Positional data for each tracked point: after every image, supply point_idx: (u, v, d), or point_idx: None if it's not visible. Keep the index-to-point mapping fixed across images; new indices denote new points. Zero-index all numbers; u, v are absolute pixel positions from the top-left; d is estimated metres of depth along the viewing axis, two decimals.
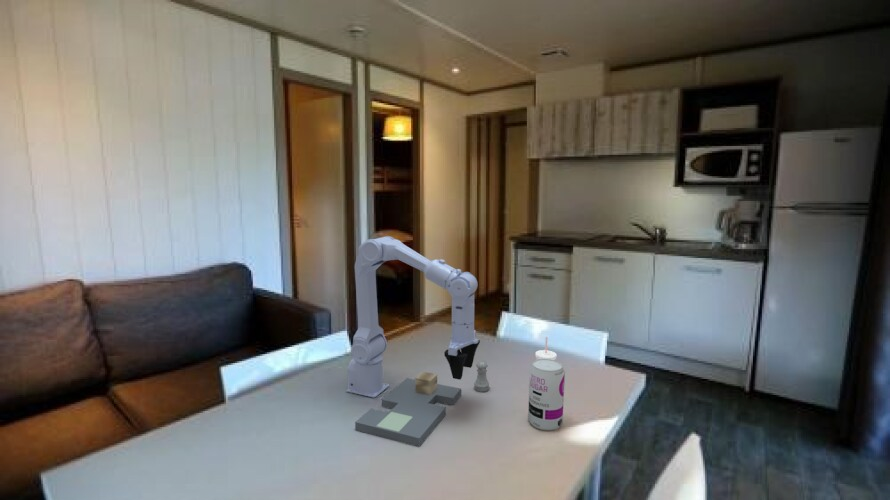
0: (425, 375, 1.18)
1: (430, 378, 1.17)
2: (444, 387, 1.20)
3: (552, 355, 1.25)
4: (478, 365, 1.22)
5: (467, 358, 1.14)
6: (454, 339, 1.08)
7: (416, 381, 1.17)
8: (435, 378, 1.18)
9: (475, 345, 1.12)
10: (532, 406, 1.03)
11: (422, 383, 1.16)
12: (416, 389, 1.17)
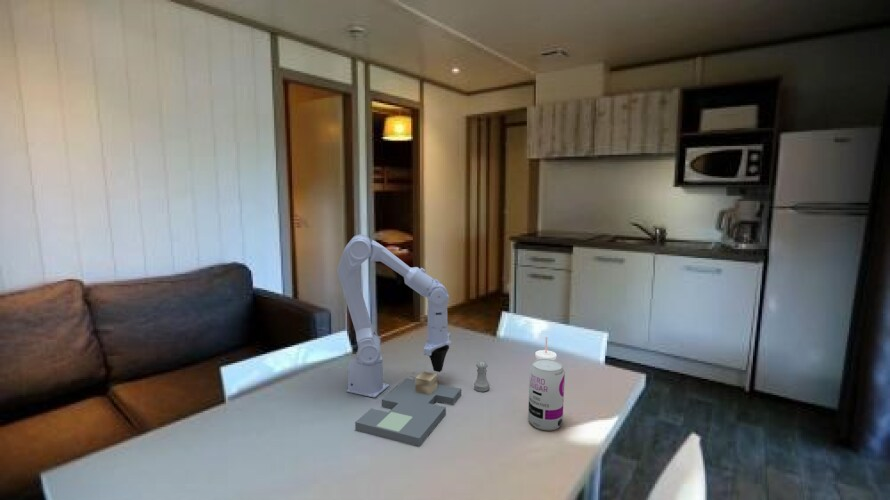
0: (425, 375, 1.18)
1: (430, 378, 1.17)
2: (444, 387, 1.20)
3: (552, 355, 1.25)
4: (478, 365, 1.22)
5: None
6: (429, 341, 1.22)
7: (416, 381, 1.17)
8: (435, 378, 1.18)
9: None
10: (532, 406, 1.03)
11: (422, 383, 1.16)
12: (416, 389, 1.17)
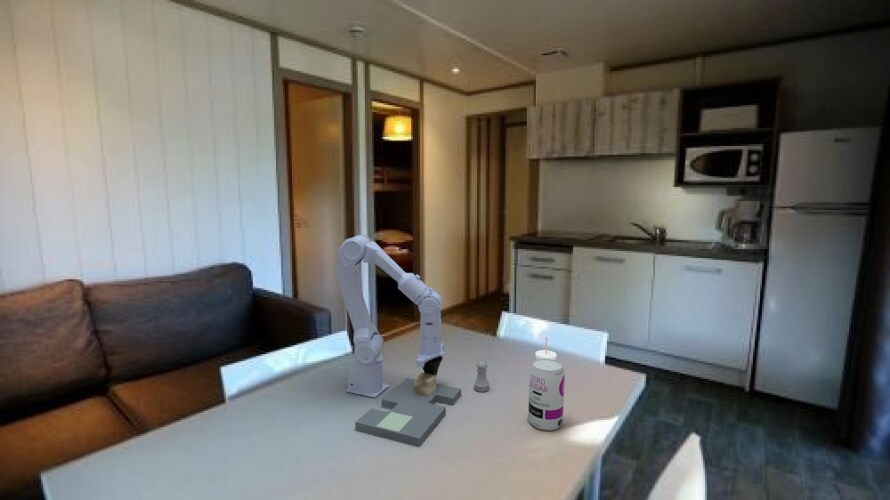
0: (424, 376, 1.18)
1: (429, 379, 1.16)
2: (444, 387, 1.20)
3: (552, 355, 1.25)
4: (478, 365, 1.22)
5: (431, 373, 1.21)
6: (422, 352, 1.18)
7: (415, 382, 1.16)
8: (434, 379, 1.18)
9: None
10: (532, 407, 1.03)
11: (421, 384, 1.15)
12: (415, 390, 1.16)
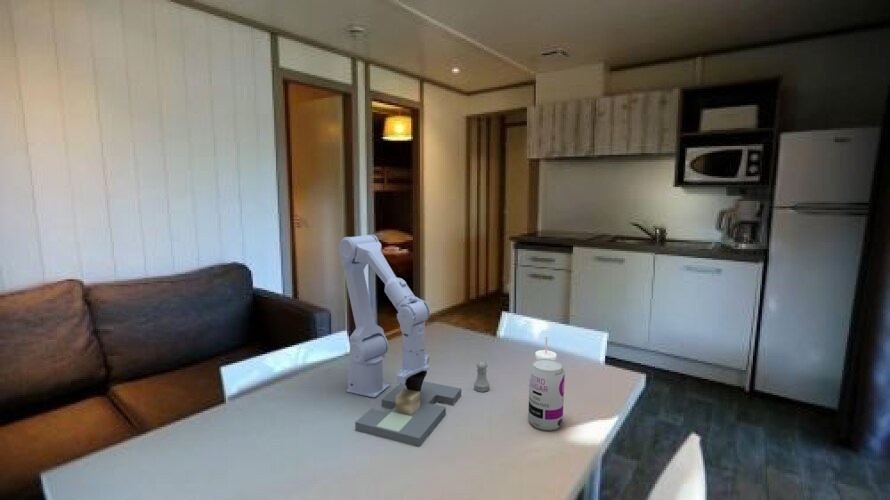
0: (406, 393, 1.08)
1: (412, 396, 1.06)
2: (444, 387, 1.20)
3: (552, 355, 1.25)
4: (478, 365, 1.22)
5: (414, 389, 1.11)
6: (404, 366, 1.08)
7: (396, 400, 1.07)
8: (417, 396, 1.08)
9: None
10: (532, 406, 1.03)
11: (403, 402, 1.06)
12: (397, 408, 1.07)
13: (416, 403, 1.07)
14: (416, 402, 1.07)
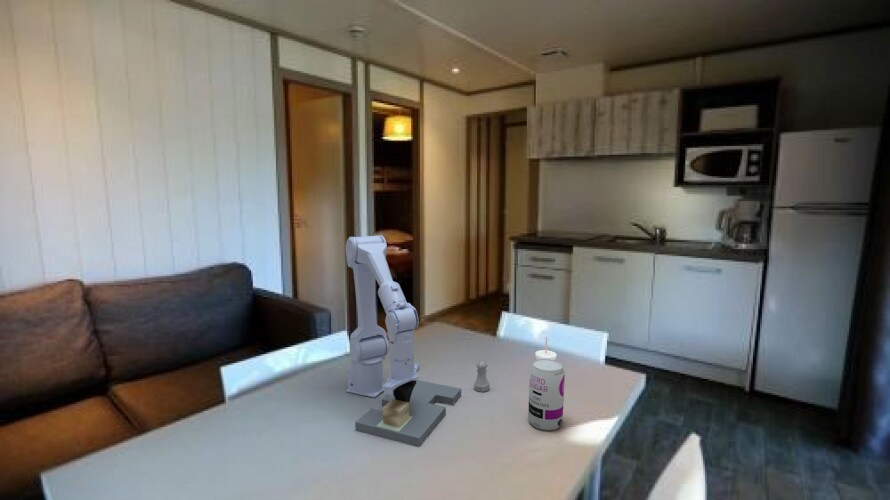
0: (394, 404, 1.03)
1: (400, 408, 1.01)
2: (444, 387, 1.20)
3: (552, 355, 1.25)
4: (478, 365, 1.22)
5: None
6: (392, 376, 1.03)
7: (384, 411, 1.01)
8: (406, 407, 1.03)
9: None
10: (532, 407, 1.03)
11: (391, 414, 1.01)
12: (384, 420, 1.02)
13: (405, 414, 1.02)
14: (405, 413, 1.02)
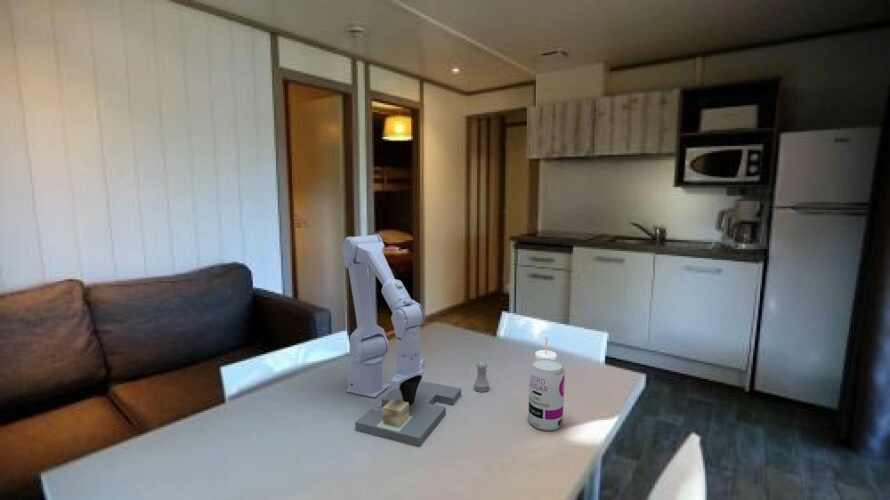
0: (394, 404, 1.02)
1: (400, 408, 1.01)
2: (444, 387, 1.20)
3: (552, 355, 1.25)
4: (478, 365, 1.22)
5: None
6: (399, 370, 1.06)
7: (384, 411, 1.01)
8: (406, 407, 1.02)
9: (416, 381, 1.08)
10: (532, 406, 1.03)
11: (390, 414, 1.00)
12: (384, 420, 1.01)
13: (404, 415, 1.02)
14: (404, 414, 1.02)
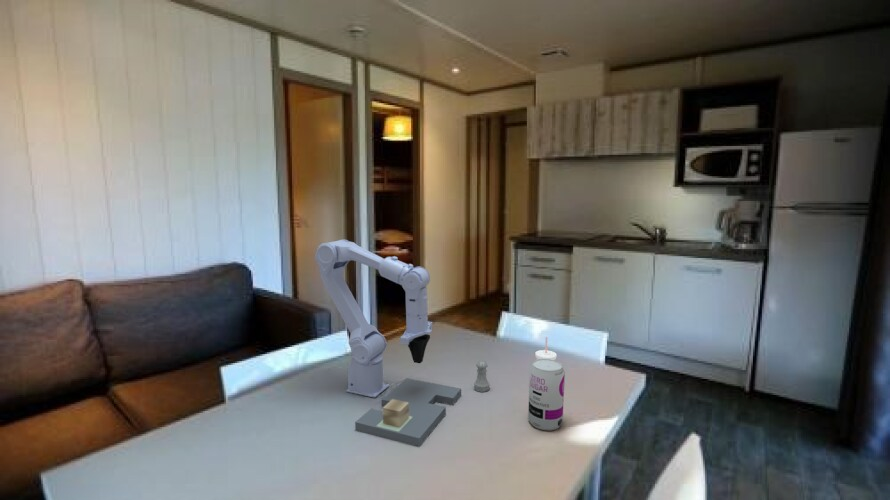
0: (394, 404, 1.02)
1: (400, 408, 1.01)
2: (444, 387, 1.20)
3: (552, 355, 1.25)
4: (478, 365, 1.22)
5: None
6: (408, 330, 1.14)
7: (384, 411, 1.01)
8: (406, 407, 1.02)
9: None
10: (532, 407, 1.03)
11: (390, 414, 1.00)
12: (384, 420, 1.01)
13: (404, 415, 1.02)
14: (404, 414, 1.02)
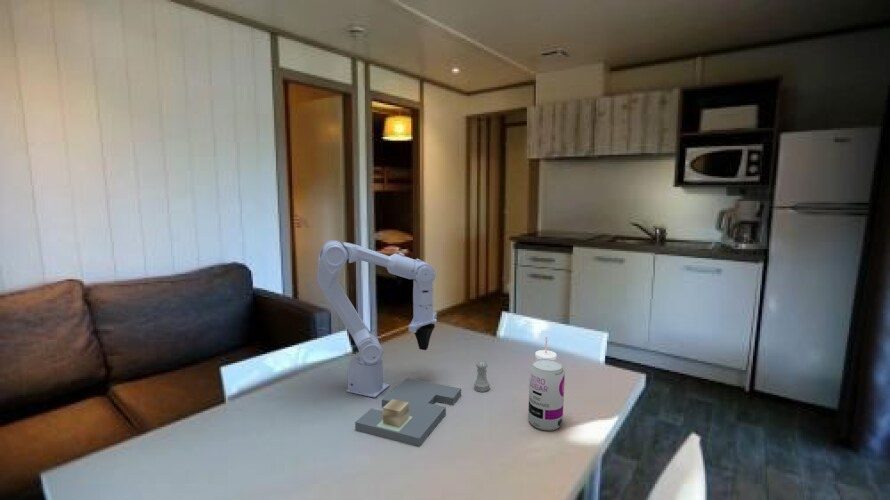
0: (394, 404, 1.02)
1: (400, 408, 1.01)
2: (444, 387, 1.20)
3: (552, 355, 1.25)
4: (478, 365, 1.22)
5: None
6: (415, 319, 1.23)
7: (384, 411, 1.01)
8: (406, 407, 1.02)
9: None
10: (532, 407, 1.03)
11: (390, 414, 1.00)
12: (384, 420, 1.01)
13: (404, 415, 1.02)
14: (404, 414, 1.02)
